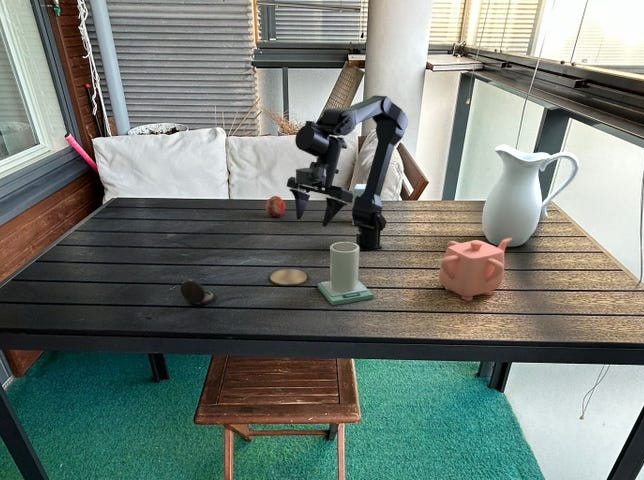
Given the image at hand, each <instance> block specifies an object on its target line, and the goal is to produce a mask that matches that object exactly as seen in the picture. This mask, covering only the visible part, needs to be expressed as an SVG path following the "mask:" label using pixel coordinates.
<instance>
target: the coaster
mask: <svg viewBox="0 0 644 480" xmlns="http://www.w3.org/2000/svg"><path fill="white" fill-rule="evenodd" d="M307 280H308V275H307V273H306V272H304V271H302V270H299V269H292V268H287V269H279V270H277V271H274V272H272V274H271V275H270V281H271V283H273V284H275V285H278V286H284V287H285V286H286V287H291V286H297V285H300V284H304V282H306V281H307Z"/></svg>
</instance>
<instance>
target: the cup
mask: <svg viewBox="0 0 644 480" xmlns="http://www.w3.org/2000/svg"><path fill="white" fill-rule="evenodd" d="M359 268H360V248H359V246H358V245H357V244H356V242H351V241H339V242H335V243H332V244H330V246H329V281H330V288H331V289H333V290H335V291H338V292H350V291H354V290H356V289H357V288H358V280H359V271H360V270H359Z"/></svg>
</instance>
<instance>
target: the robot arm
mask: <svg viewBox="0 0 644 480" xmlns="http://www.w3.org/2000/svg"><path fill="white" fill-rule="evenodd" d="M371 118H372V120H373V122H374V123H375V124H376V126H375V135H376V139H377V143H376V148H375V151H374V155H373V158H372V162H371V166H370V169H369V172H368V176H367V180H366V183H365V184H366V187H365V190H364V193H363V194H362V195H361V196H360V197H359V196H356V198H355V201H354V205H353V196H354V192H353V190H349V189H348V188H345V187H342V186H337V185H333V182H334V179H335V175H339V173H340V170H339V169H337V167H338V163H339V159H340V156H341V152H342V149H344V150H347V149H348V145H347V143H346V141H345V137H343V136H348V135H349V134H350V133H351V132H353V131H354V130H355V129H356V126H357V125H358V124H360V123H362V122H365V121H367V120H369V119H371ZM408 124H409V119H408V116H407V114H406V112H404V111H403V108H401V107H400V106H398V105H397V104H395V103H394V102H393V101H392V99H391V98H390V97H388V96H387V95H378V94H377V95H372V96H371V97H369V98H367V99H365V100H362V101H360V102H357V103H355V104H351V105H349V106H347V107H330V108H326V109H325V110H324V111H323V112H322V115H321V116H320V117H319V118H318V119H317V121H316V122H315V121H314V120H305V124H304V125H303V126H302V127H300V128H299V130H298V131H297V133H296V134H295V139H294V141H295V146H296V148H297V149H298V150H300V151H302V152H304V153H306V154H308V155H310V156H313V157H315V160H314V161H311V162H310V164H309V167H301V168H295V176H290V177H289V178H288V179H287V182H286V187H287V188H289V189H288V190H289V192H291V193H292V195H293V197H294V202H295V215H296V220H299V221H300V220H302V217H303V215H304V212H305V210H306V207H307V204H308V202H309V200H310V197H311V194H309V193H310V192H312V193H317V194H322V195H326V197H325V202H326V208H325V211H324V215H323V220H322V227H324V228H326V227H327V226H328V225H329V224H330V223H331V222H332V220H333V219H334V218H335V216H336V215H337V214H338V213H339V211H341V210H342V209H343V208H344V206H346V207H347V206H348V204H352V208H351V217H352V223H353V222H354V225H353V226H354V227H358V229H357V232H356V241H355V244H357V245H358V246H359V249H361V251H364V252H365V251H371V250H379V249H383V246H382V245H381V232H382V231H384V229H385V228H386V226H387V219H386V218H385V216H383V214H382V211H383V203H382V199H381V194H382V191H383V187H384V184H385V181H386V178H387V174H388V170H389V167H390V163H391V160H392V157H393V152H394V149H395V146H397V145H398V144H399V142H400V141H401V140H402V139H403V137H404V135H405V132H406V130H407V128H408ZM340 136H342V137H340ZM327 196H329V197H327Z"/></svg>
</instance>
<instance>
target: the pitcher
mask: <svg viewBox="0 0 644 480" xmlns="http://www.w3.org/2000/svg"><path fill="white" fill-rule="evenodd" d="M494 152H495V153H496V154H497V155H498V156H499V157H500V159H501V161H502V168H501V170H500V171H501V172H500V174H499V175H498V177H497V178H496V181H495V182H494V184H493V186H492V187H491V189H490V191H489V192H488V194H487V197H486V200H485V203H484V205H483V209H482V214H481V215H482V216H481V217H482V218H481V223H482V225H481V226H482V229H483V234H484V235H485V238H486V239H487V241H488V242H489V243H490V244H493V245H494V246H495V245H496V246H499V244H500V243H501V242H502V241H503V240H504V239H506V238H512V240H511V241H510V242H509V243H508V244H507V246H506V247H508V248H509V247H512V248H513V247H519V246H522V245H523V244H524V243H527V241H528V240H529V239H530V237H531V236H532V235H533V234H534V232H535V230H536V229H537V227H538V225H539V221H540V219H541V216H542V217H544V218H548V213H547V207H548V205H549V204H550V202H552V200H554V198H556V197H557V196H558V195H559V194H560V193H561V192H563V190H565V189H566V188H567V187H568V186H569V185H570V184H571V183H572V182H573V181H574V180H575V177H577V174H578V172H579V169H580V168H579V167H580V164H579V159H578V158H577V157H576V155H574V154H573V153H572V152H569V151H561V152H557V153H554V154H552V155H550V154H549V153H547V152H541V151H540V152H534V153H526V152H522V151H519V150H517V149H515V148H513V147H511V146H509V145H507V144H500V145H498V146H496V147H495V149H494ZM560 159H567V160H569V161H570V162H571V166H572V167H571V171H570V173H569V175H568V177H567V178H566V179H565V180H564V181H563V182H562V183H561V184H560V185H559V186H558V187H557V188H556V189H555V190H554V191H553V192H551V193H550V195H548V196H547V197H546V198H545V199H544V200H542V199H543V198H542V191H541V186H540V180H539V170H540V171H541V172H545V169H546V168H547V166H548V165H549V164H551V163H552V162H554V161H556V160H560Z"/></svg>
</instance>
